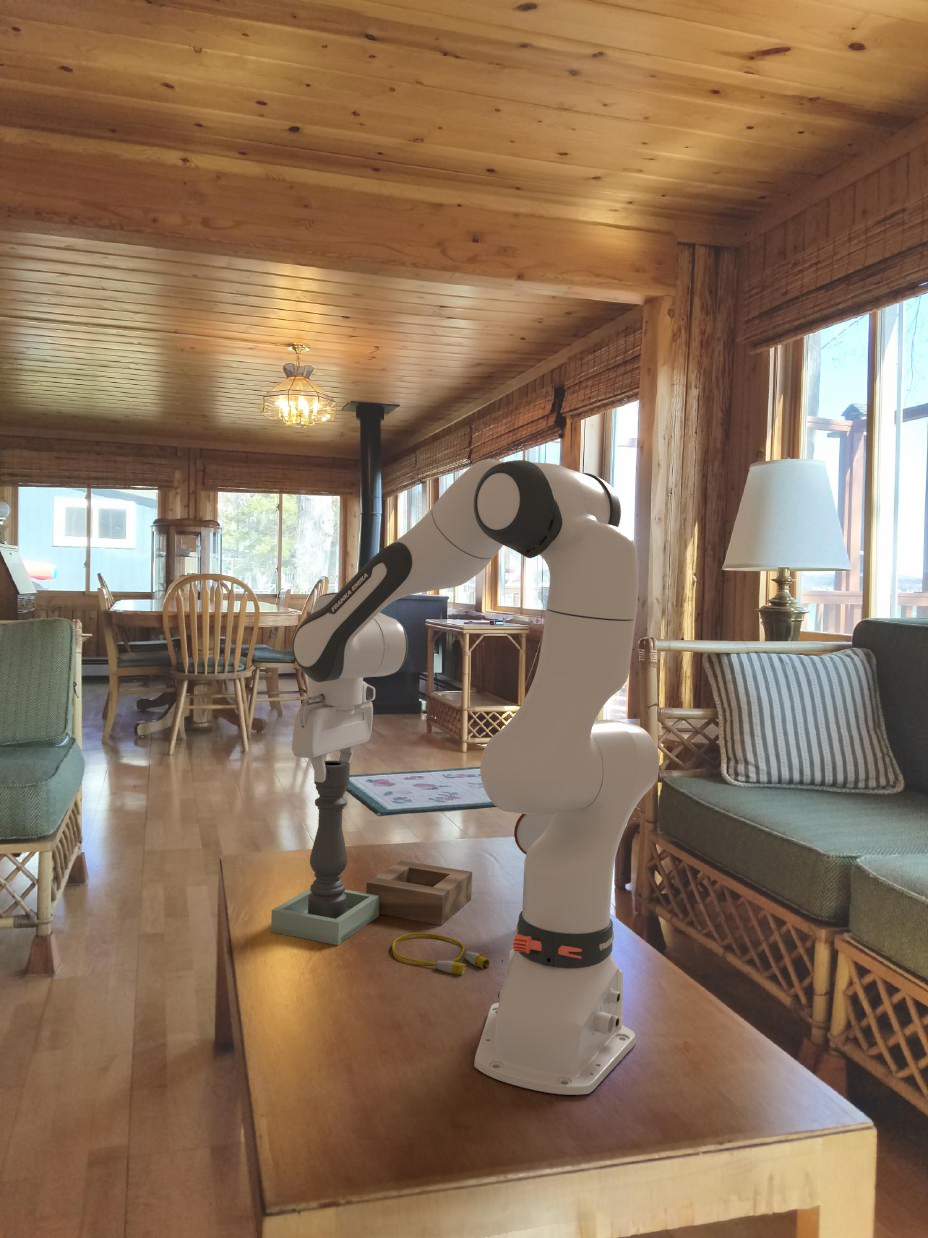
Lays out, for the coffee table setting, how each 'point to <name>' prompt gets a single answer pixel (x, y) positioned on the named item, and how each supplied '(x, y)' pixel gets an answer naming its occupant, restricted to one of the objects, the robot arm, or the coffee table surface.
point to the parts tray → (325, 918)
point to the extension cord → (443, 965)
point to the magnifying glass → (530, 829)
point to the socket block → (421, 891)
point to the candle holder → (329, 844)
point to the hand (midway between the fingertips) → (332, 777)
